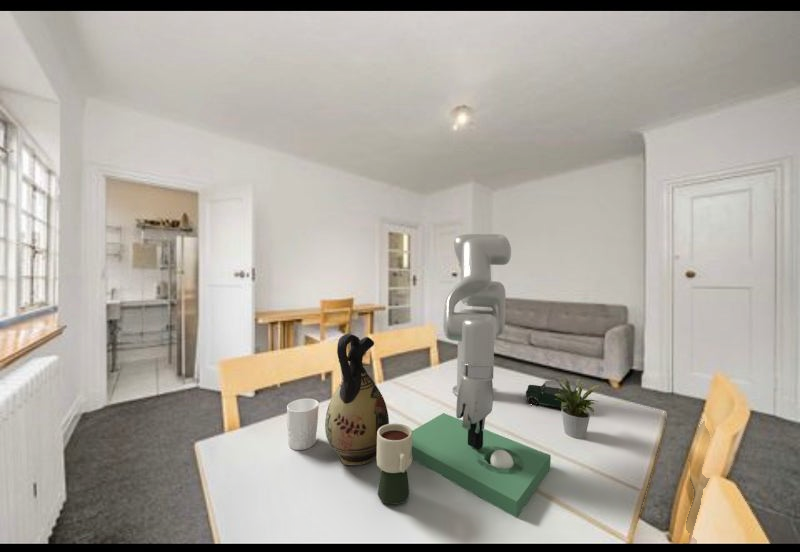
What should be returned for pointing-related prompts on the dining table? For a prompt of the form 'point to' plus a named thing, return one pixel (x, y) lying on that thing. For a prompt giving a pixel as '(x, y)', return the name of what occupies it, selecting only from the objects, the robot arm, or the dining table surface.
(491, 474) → the board
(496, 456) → the golf ball
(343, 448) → the ceramic jug
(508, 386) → the dining table surface
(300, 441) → the white cup
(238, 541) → the dining table surface
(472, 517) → the dining table surface
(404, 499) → the character mug
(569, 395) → the house plant
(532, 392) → the miniature car
